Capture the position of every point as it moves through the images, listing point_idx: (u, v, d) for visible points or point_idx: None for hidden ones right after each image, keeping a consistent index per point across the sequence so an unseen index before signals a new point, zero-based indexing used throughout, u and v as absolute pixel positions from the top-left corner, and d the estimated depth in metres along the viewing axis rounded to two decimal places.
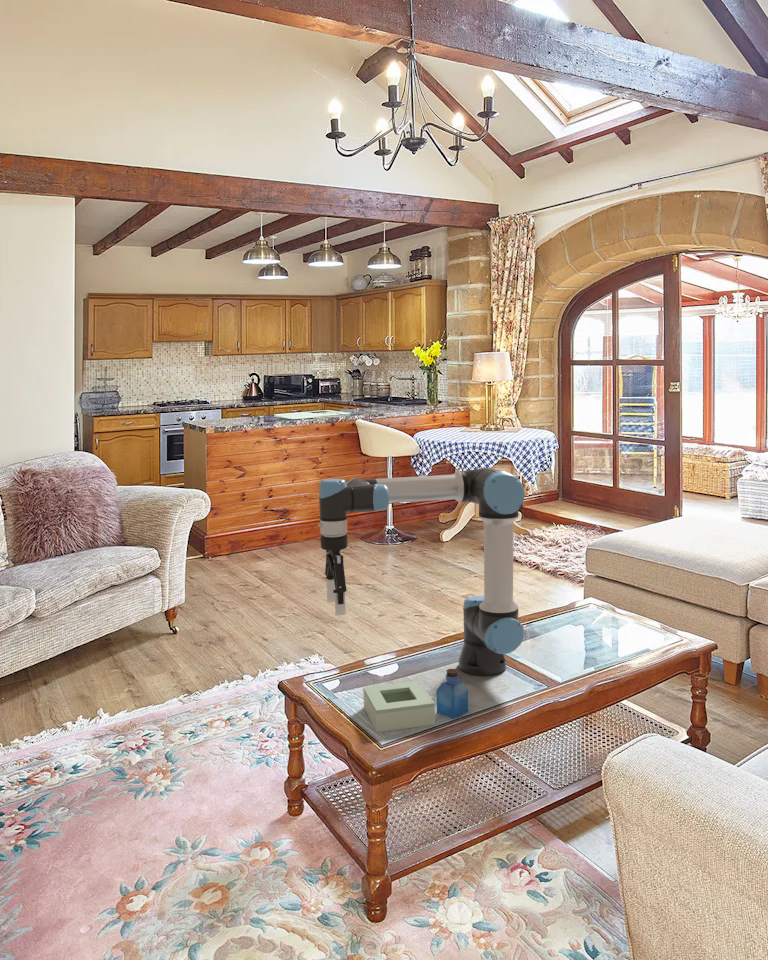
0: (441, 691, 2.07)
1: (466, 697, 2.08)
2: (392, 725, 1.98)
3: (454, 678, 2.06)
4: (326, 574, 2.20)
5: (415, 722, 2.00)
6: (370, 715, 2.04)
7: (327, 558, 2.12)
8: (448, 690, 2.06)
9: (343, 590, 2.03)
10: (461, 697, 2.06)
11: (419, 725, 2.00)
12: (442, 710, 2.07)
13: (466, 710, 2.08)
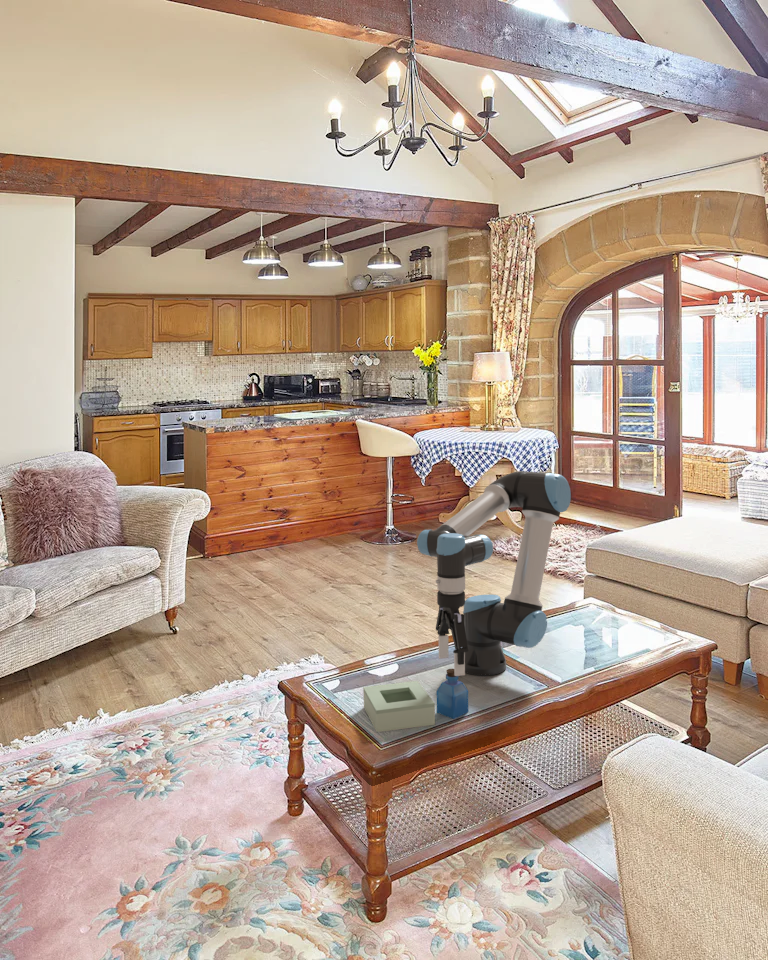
0: (441, 691, 2.07)
1: (466, 697, 2.08)
2: (392, 725, 1.98)
3: (454, 678, 2.06)
4: (438, 630, 2.13)
5: (415, 722, 2.00)
6: (370, 715, 2.04)
7: (443, 615, 2.06)
8: (448, 690, 2.06)
9: (465, 650, 1.96)
10: (461, 697, 2.06)
11: (419, 725, 2.00)
12: (442, 710, 2.07)
13: (466, 710, 2.08)
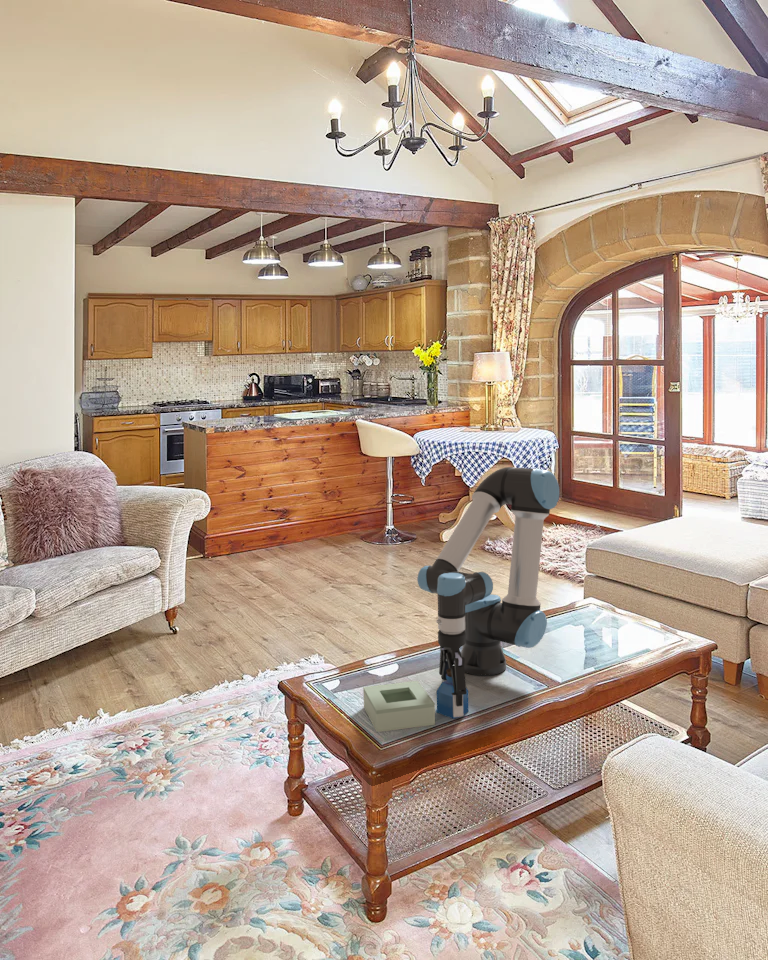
0: (441, 691, 2.07)
1: (466, 697, 2.08)
2: (392, 725, 1.98)
3: None
4: (441, 674, 2.13)
5: (415, 722, 2.00)
6: (370, 715, 2.04)
7: (444, 653, 2.07)
8: (448, 689, 2.06)
9: (463, 693, 2.00)
10: None
11: (419, 725, 2.00)
12: (442, 710, 2.07)
13: (466, 710, 2.08)
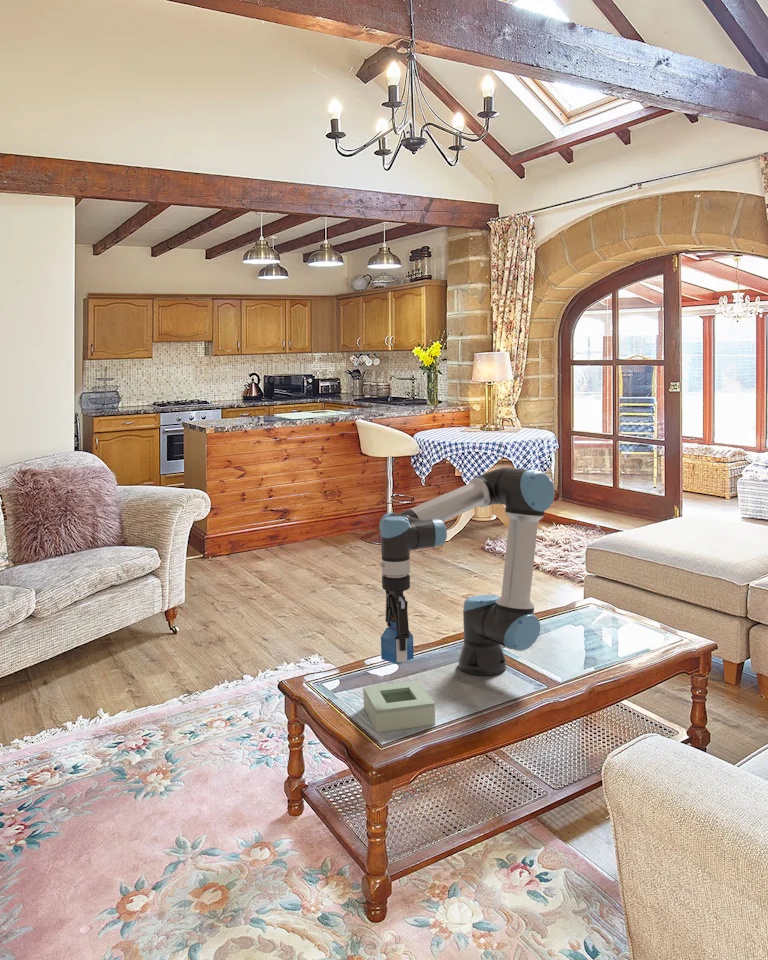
0: (385, 637, 2.03)
1: (411, 643, 2.04)
2: (392, 725, 1.98)
3: None
4: (387, 621, 2.09)
5: (415, 722, 2.00)
6: (370, 715, 2.04)
7: (388, 599, 2.03)
8: (391, 635, 2.02)
9: (406, 637, 1.97)
10: None
11: (419, 725, 2.00)
12: (386, 656, 2.03)
13: (411, 656, 2.04)
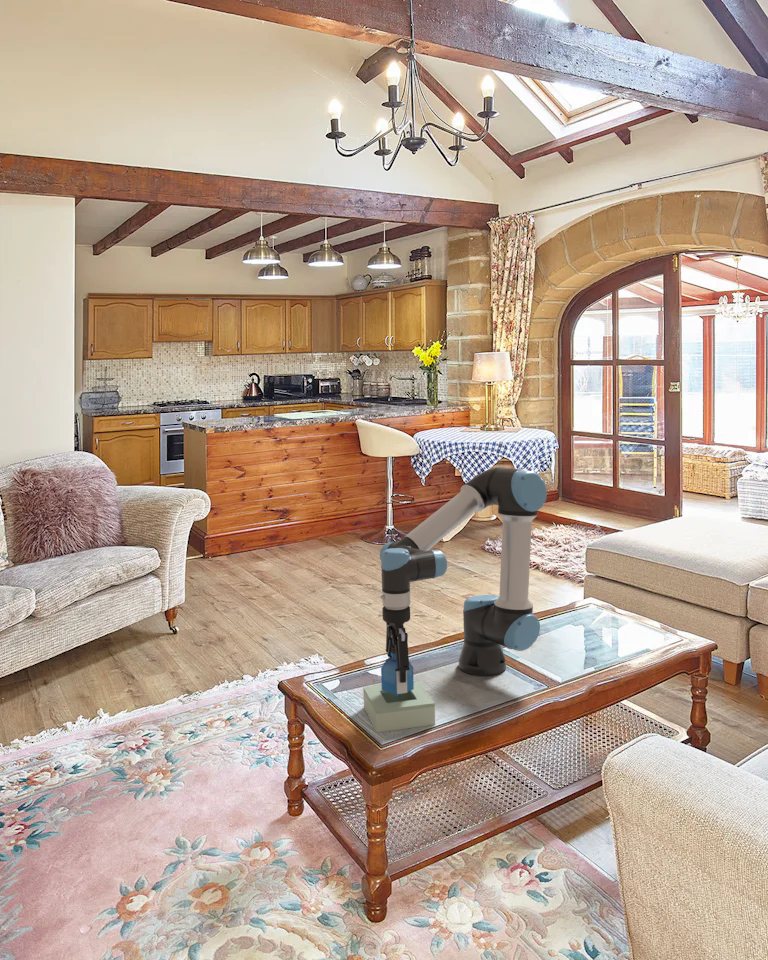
0: (386, 668, 2.04)
1: (411, 674, 2.05)
2: (392, 725, 1.98)
3: None
4: None
5: (415, 722, 2.00)
6: (370, 715, 2.04)
7: (389, 630, 2.04)
8: (392, 666, 2.03)
9: (406, 669, 1.98)
10: None
11: (419, 725, 2.00)
12: (387, 687, 2.04)
13: (411, 687, 2.05)
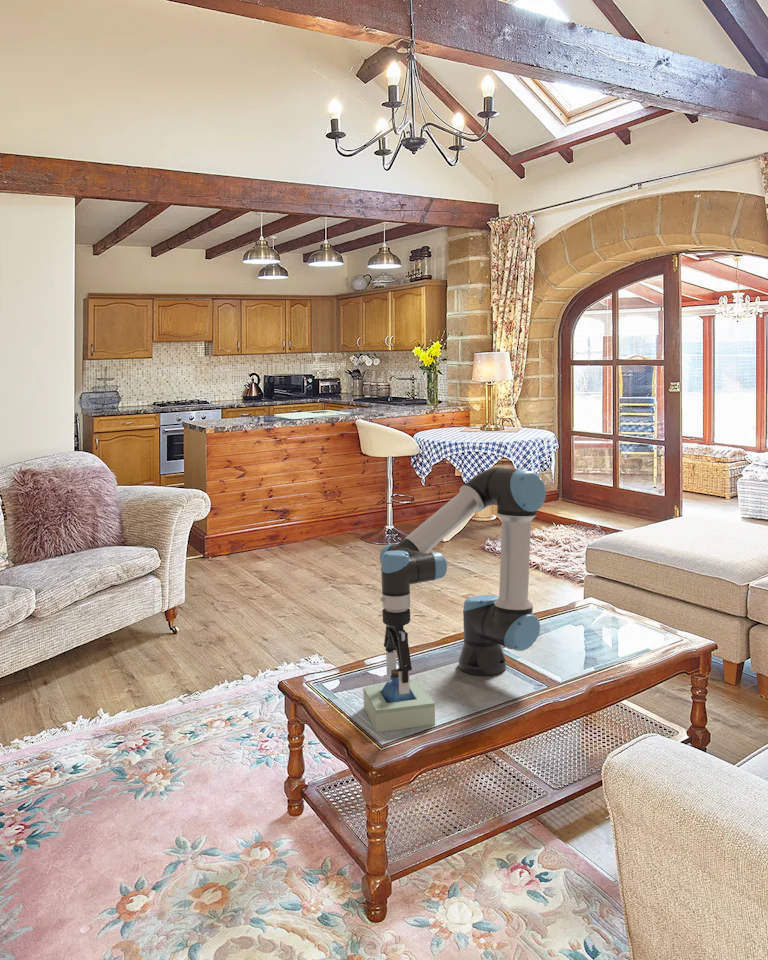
0: (385, 691, 2.06)
1: (410, 699, 2.05)
2: (392, 725, 1.98)
3: (397, 679, 2.04)
4: (386, 646, 2.12)
5: (415, 722, 2.00)
6: (370, 715, 2.04)
7: (389, 632, 2.05)
8: (390, 690, 2.04)
9: (408, 669, 1.95)
10: (404, 698, 2.04)
11: (419, 725, 2.00)
12: None
13: None
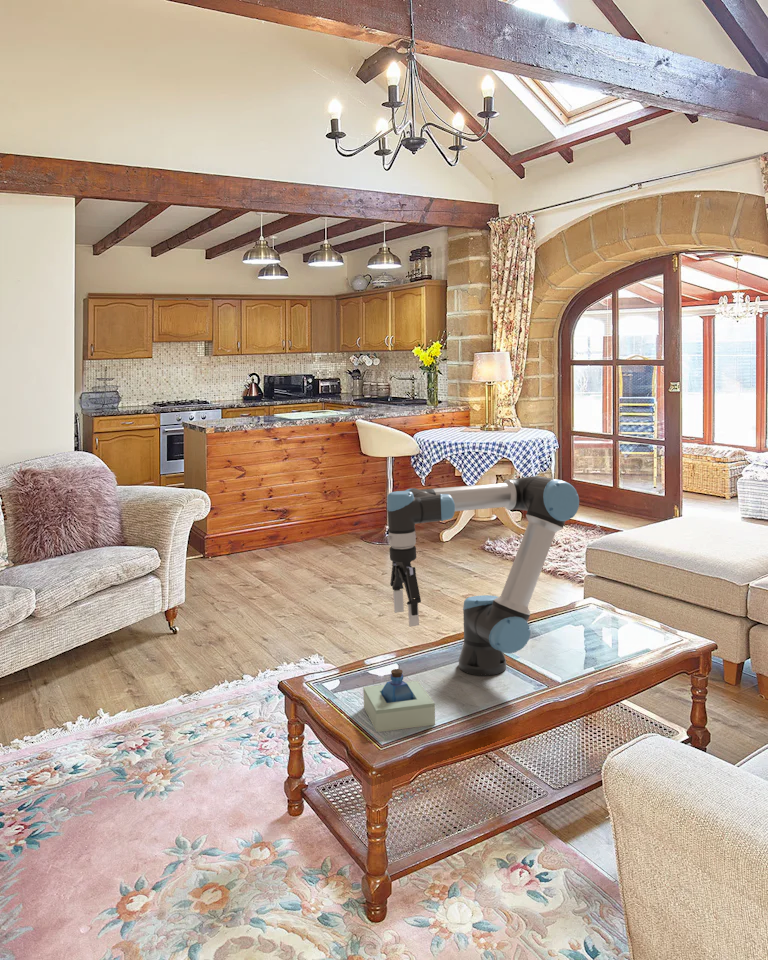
0: (385, 691, 2.06)
1: (410, 699, 2.05)
2: (392, 725, 1.98)
3: (397, 679, 2.04)
4: (392, 585, 2.22)
5: (415, 722, 2.00)
6: (370, 715, 2.04)
7: (396, 570, 2.14)
8: (390, 690, 2.04)
9: (418, 601, 2.05)
10: (404, 698, 2.04)
11: (419, 725, 2.00)
12: None
13: None
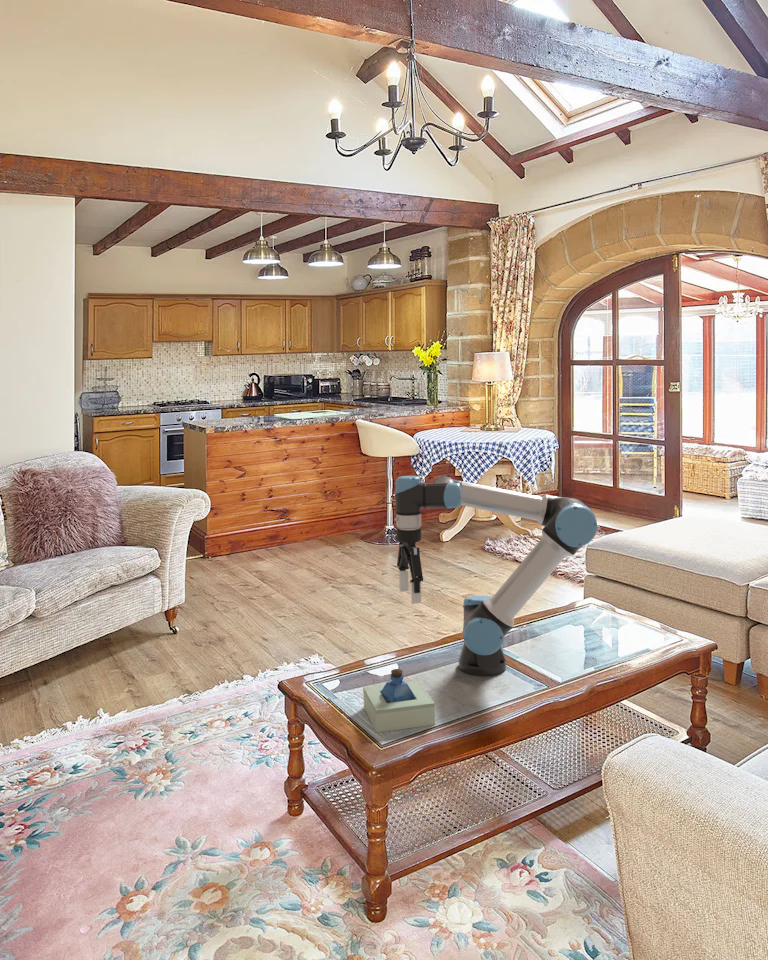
0: (385, 691, 2.06)
1: (410, 699, 2.05)
2: (392, 725, 1.98)
3: (397, 679, 2.04)
4: (398, 565, 2.34)
5: (415, 722, 2.00)
6: (370, 715, 2.04)
7: (402, 550, 2.26)
8: (390, 690, 2.04)
9: (420, 580, 2.17)
10: (404, 698, 2.04)
11: (419, 725, 2.00)
12: None
13: None
